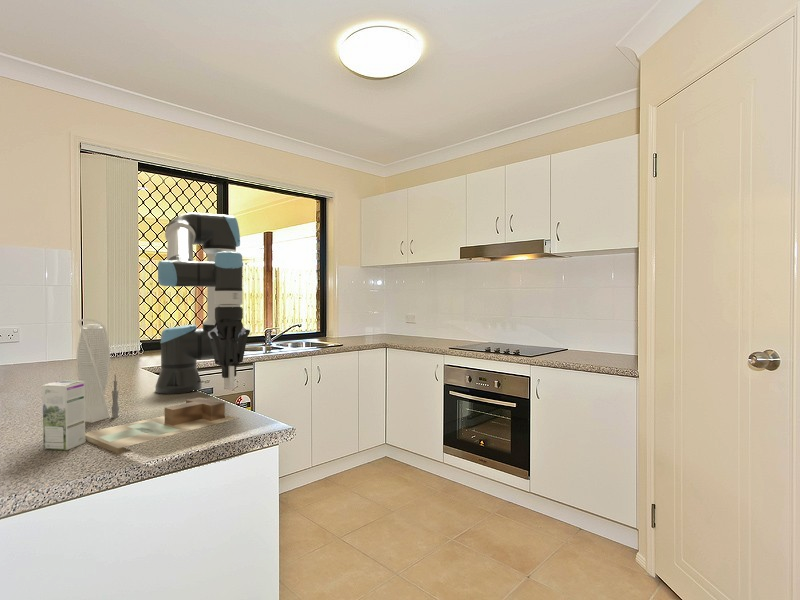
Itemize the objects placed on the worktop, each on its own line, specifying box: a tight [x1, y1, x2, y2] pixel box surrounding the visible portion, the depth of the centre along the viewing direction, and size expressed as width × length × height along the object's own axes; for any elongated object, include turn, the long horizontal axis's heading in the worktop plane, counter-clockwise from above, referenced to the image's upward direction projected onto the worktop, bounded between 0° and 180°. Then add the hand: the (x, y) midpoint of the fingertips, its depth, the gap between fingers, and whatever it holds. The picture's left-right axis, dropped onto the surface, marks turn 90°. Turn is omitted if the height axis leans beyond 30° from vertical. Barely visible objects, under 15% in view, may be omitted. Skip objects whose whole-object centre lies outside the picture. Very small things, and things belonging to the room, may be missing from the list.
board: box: [85, 414, 239, 455], centre depth 115 cm, size 30×19×1 cm, turn 145°
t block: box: [164, 396, 226, 426], centre depth 121 cm, size 12×12×4 cm
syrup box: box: [41, 380, 87, 451], centre depth 102 cm, size 6×6×14 cm
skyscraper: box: [75, 318, 120, 424], centre depth 121 cm, size 8×8×28 cm
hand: (229, 388), depth 130 cm, fingers closed
